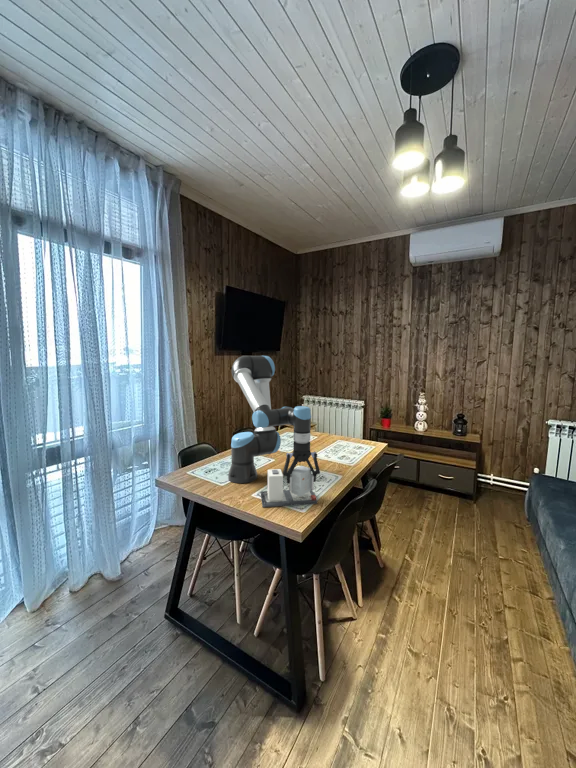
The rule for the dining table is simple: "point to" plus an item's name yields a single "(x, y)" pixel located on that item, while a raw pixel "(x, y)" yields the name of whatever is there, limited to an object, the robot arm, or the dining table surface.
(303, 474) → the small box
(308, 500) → the strip board
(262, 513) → the dining table surface
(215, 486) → the dining table surface
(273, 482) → the twin plug
